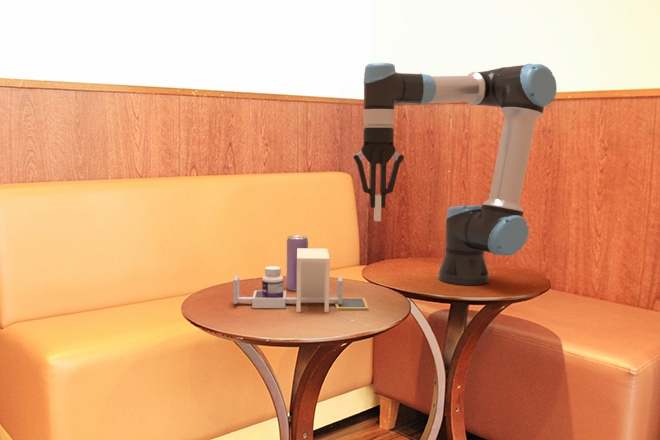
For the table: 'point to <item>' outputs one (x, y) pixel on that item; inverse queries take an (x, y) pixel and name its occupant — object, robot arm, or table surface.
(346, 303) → the tray
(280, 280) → the pill bottle
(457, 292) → the table surface
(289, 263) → the beverage can
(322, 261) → the tunnel
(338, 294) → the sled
